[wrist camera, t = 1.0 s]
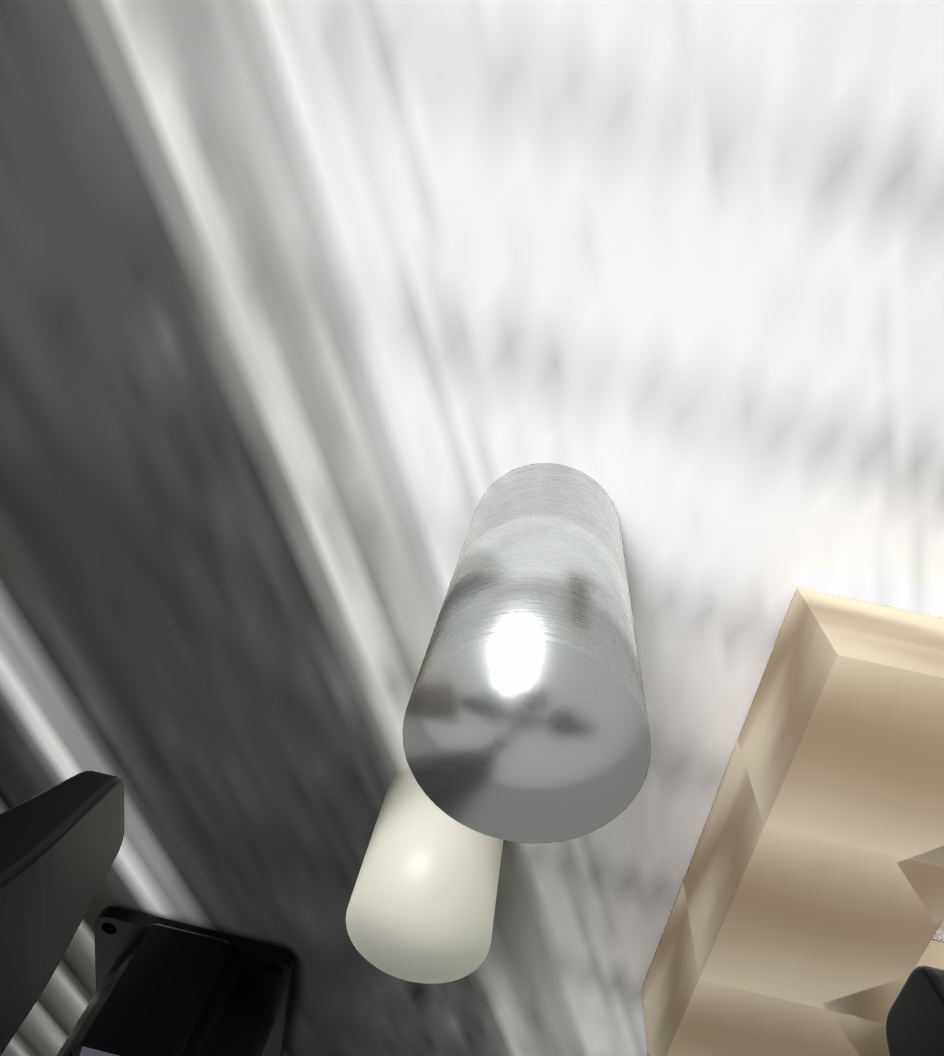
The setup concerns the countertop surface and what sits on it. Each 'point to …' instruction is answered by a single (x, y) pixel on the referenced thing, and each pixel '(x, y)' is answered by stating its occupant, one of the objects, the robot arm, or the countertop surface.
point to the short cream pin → (424, 890)
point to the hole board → (815, 848)
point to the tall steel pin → (533, 668)
